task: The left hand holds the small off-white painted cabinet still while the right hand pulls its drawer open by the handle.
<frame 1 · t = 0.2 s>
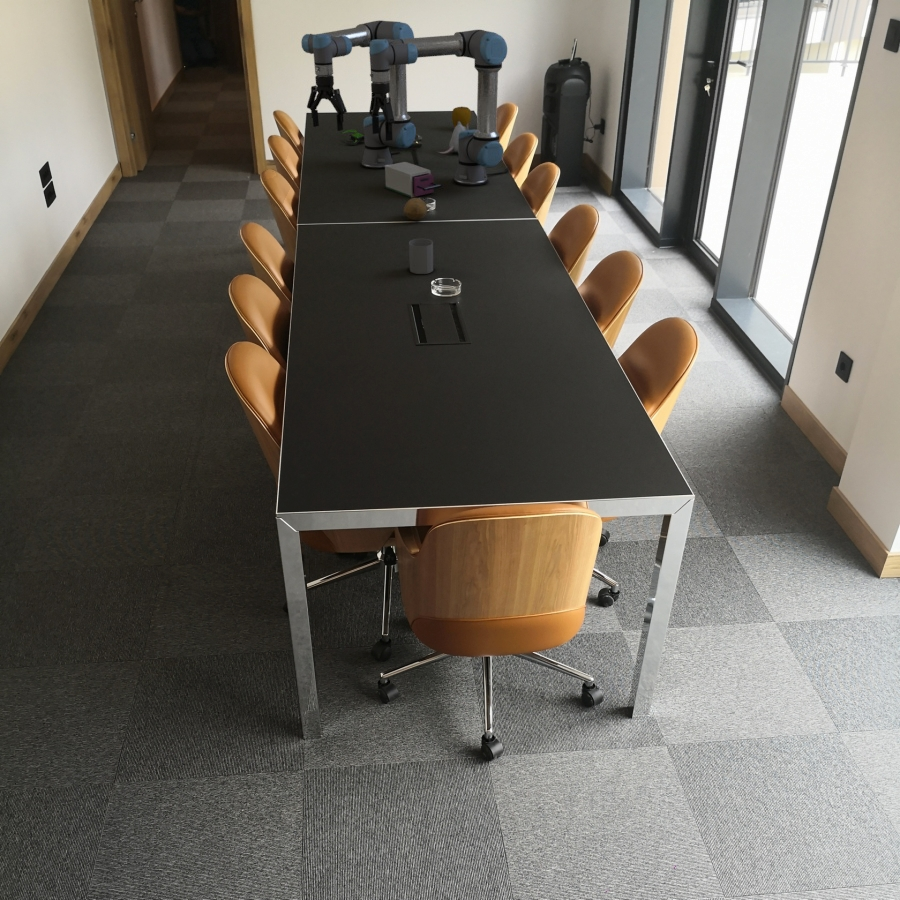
left hand: (328, 128, 373), 28 cm above the table, tool pointing down, fingers open, 13 cm apart
right hand: (382, 136, 360), 28 cm above the table, tool pointing down, fingers open, 13 cm apart
potato: (415, 219, 356), on the table
apple: (461, 130, 491), on the table
drawer: (416, 182, 384), point 5 cm above the table, slide at 1.5 cm
cabinet: (408, 190, 391), on the table
green irregular shape: (368, 143, 466), on the table
toy: (453, 155, 444), on the table
cup: (421, 270, 308), on the table
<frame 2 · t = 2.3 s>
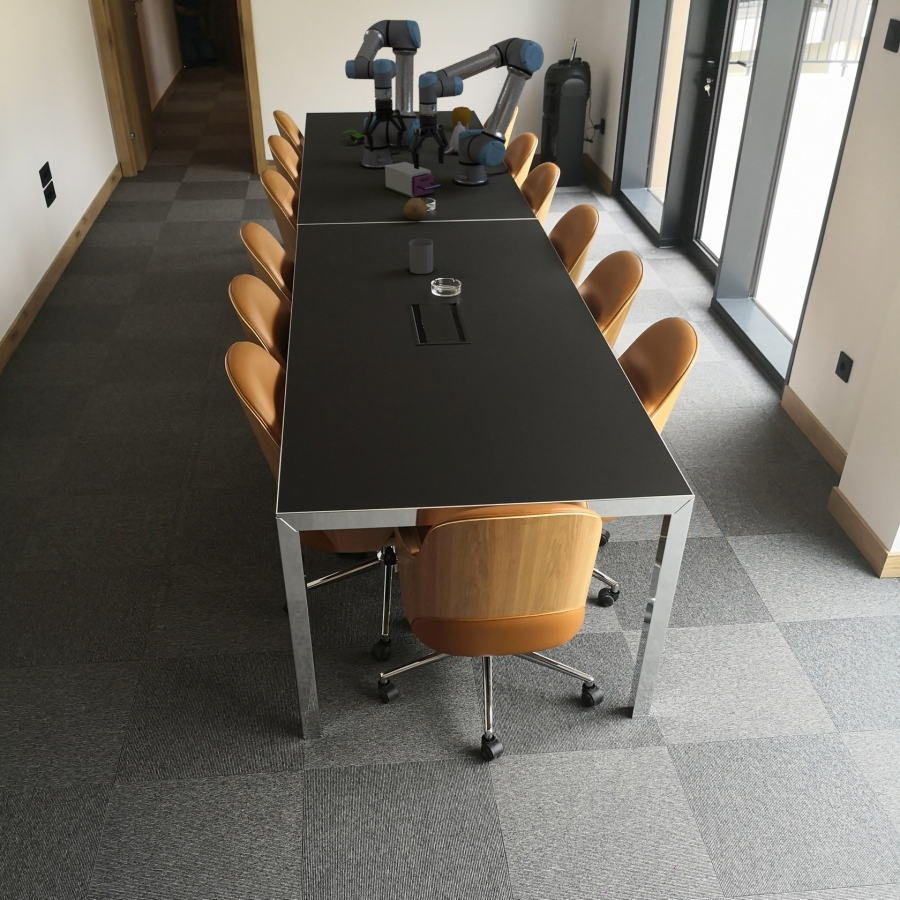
left hand: (385, 149, 384), 17 cm above the table, tool pointing down, fingers open, 13 cm apart
right hand: (428, 166, 374), 14 cm above the table, tool pointing down, fingers open, 13 cm apart
nothing on the table moved.
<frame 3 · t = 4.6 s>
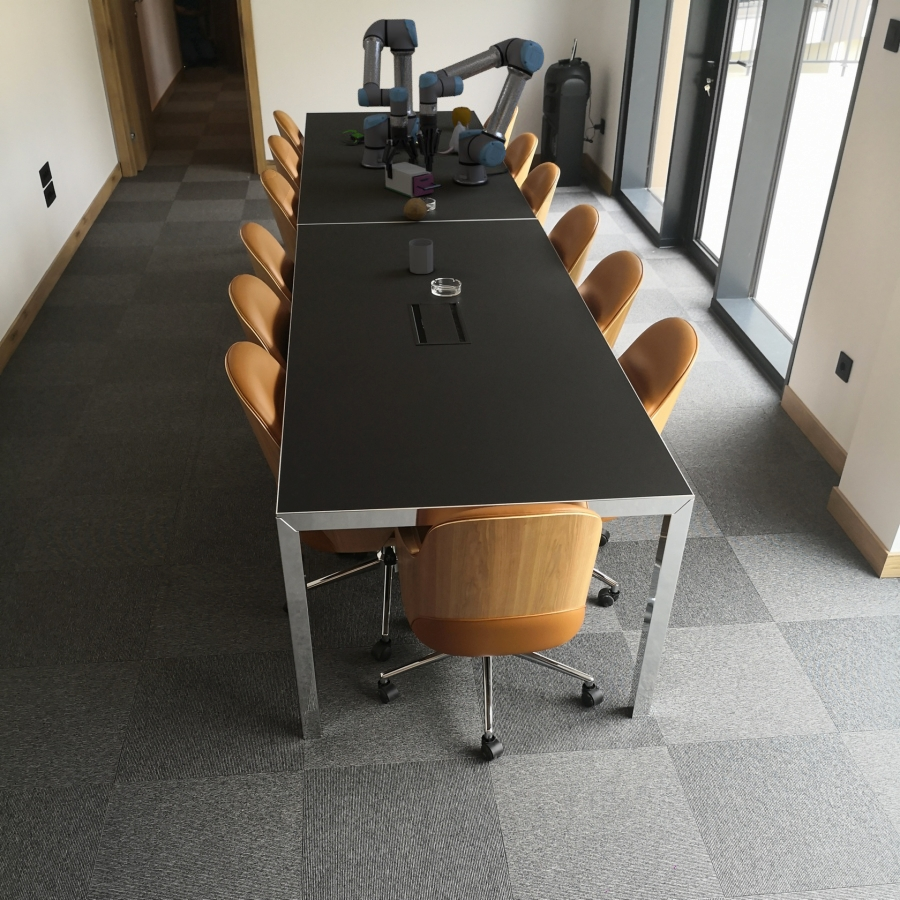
left hand: (400, 176, 392), 5 cm above the table, tool pointing down, fingers closed on cabinet, 11 cm apart
right hand: (429, 171, 375), 12 cm above the table, tool pointing down, fingers closed
cabinet: (408, 190, 391), on the table, touching left hand
everything else where it was.
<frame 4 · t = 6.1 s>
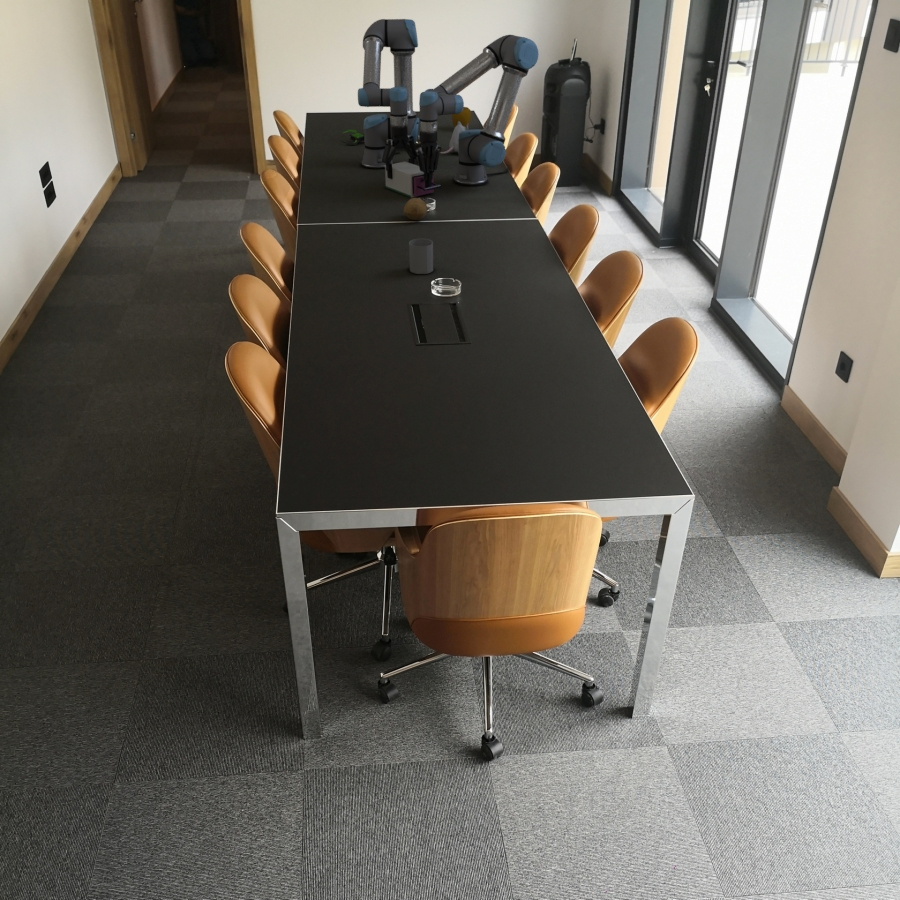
left hand: (400, 175, 392), 5 cm above the table, tool pointing down, fingers closed on cabinet, 11 cm apart
right hand: (428, 187, 378), 5 cm above the table, tool pointing down, fingers closed
cabinet: (408, 190, 391), on the table, touching left hand
everything else where it was.
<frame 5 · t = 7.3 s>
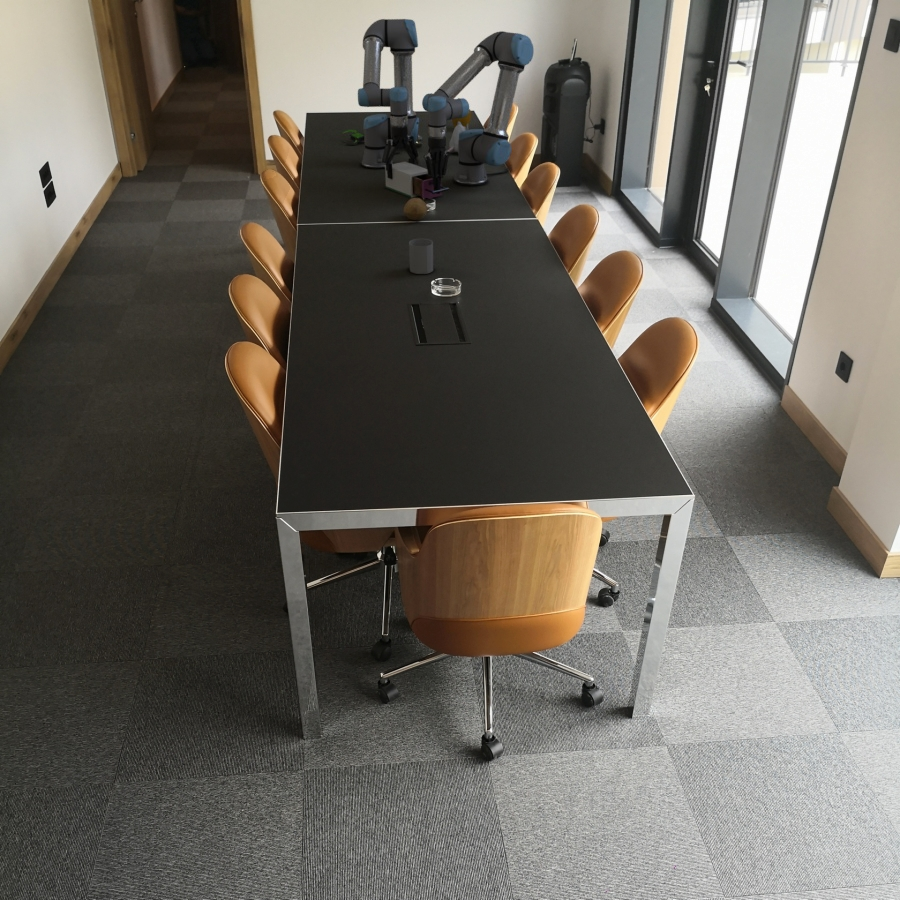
left hand: (400, 176, 392), 5 cm above the table, tool pointing down, fingers closed on cabinet, 11 cm apart
right hand: (437, 192, 375), 4 cm above the table, tool pointing down, fingers closed
drawer: (424, 185, 381), point 5 cm above the table, slide at 7.3 cm, touching right hand
cabinet: (408, 190, 391), on the table, touching left hand
everything else where it was.
when the left hand's fingers open (5 cm above the table, at t = 9.0 s): cabinet stays where it is, on the table.
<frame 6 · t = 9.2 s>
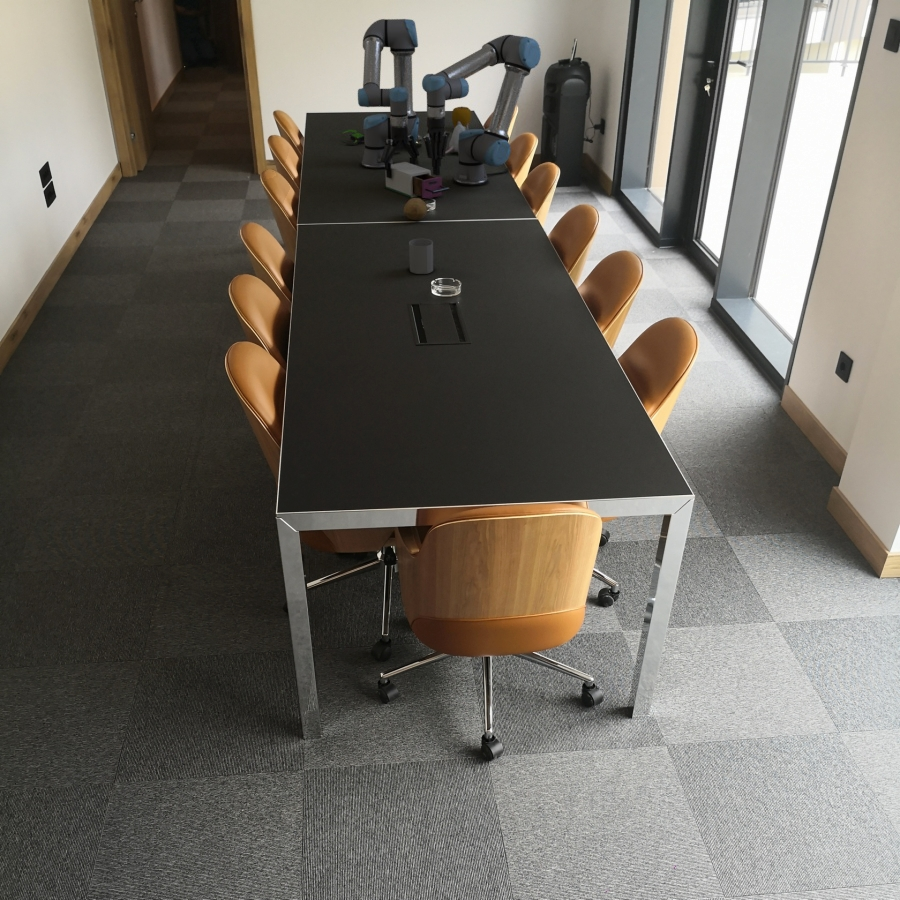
left hand: (400, 175, 392), 6 cm above the table, tool pointing down, fingers open, 12 cm apart
right hand: (436, 174, 372), 11 cm above the table, tool pointing down, fingers closed
drawer: (424, 185, 381), point 5 cm above the table, slide at 7.3 cm
cabinet: (408, 190, 391), on the table
everything else where it was.
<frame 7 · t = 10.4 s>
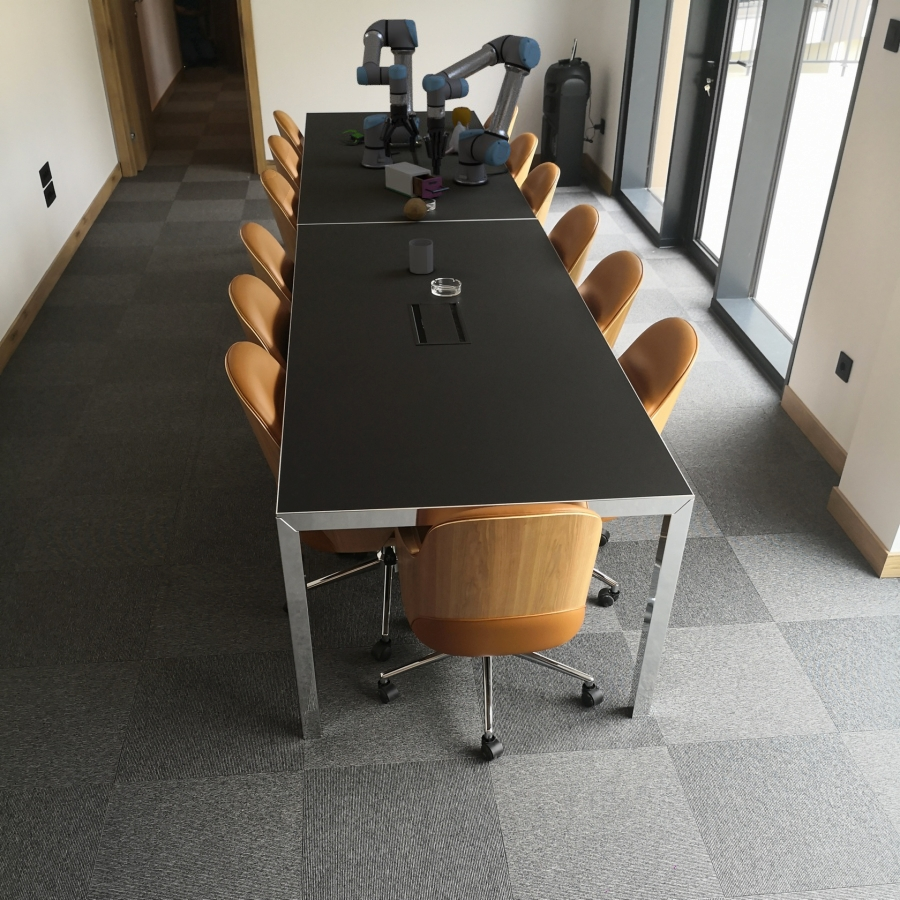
left hand: (400, 154, 387), 15 cm above the table, tool pointing down, fingers open, 13 cm apart
right hand: (436, 174, 372), 11 cm above the table, tool pointing down, fingers closed
nothing on the table moved.
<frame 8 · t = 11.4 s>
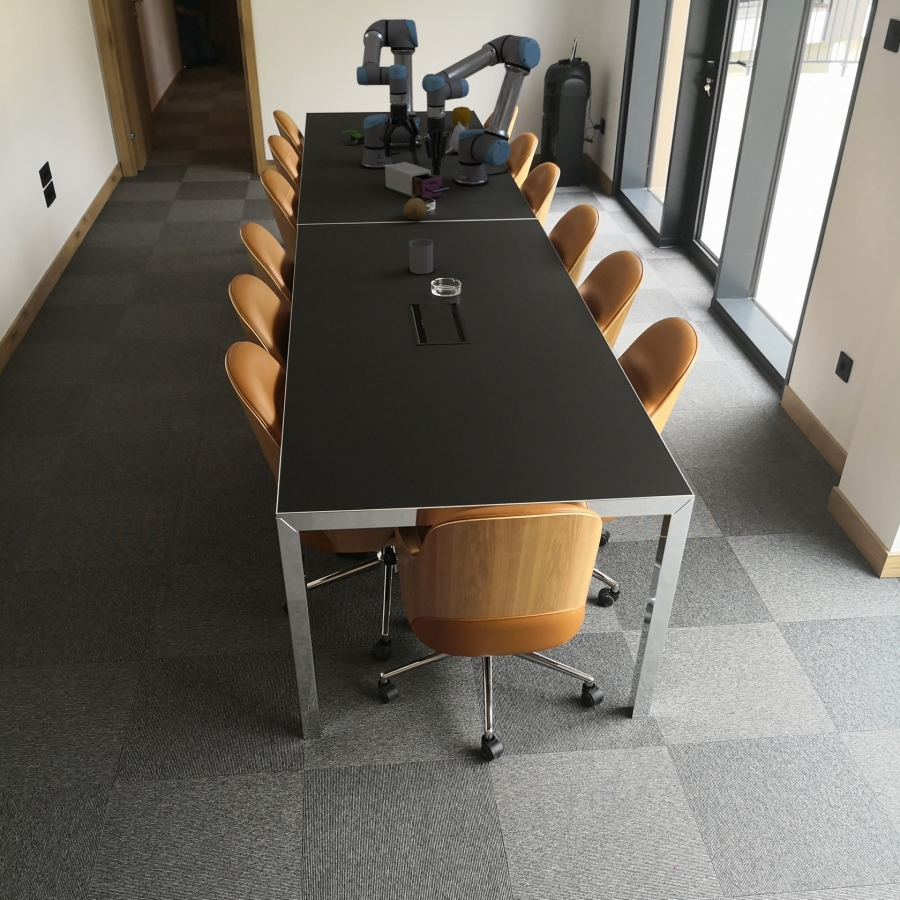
left hand: (400, 154, 387), 15 cm above the table, tool pointing down, fingers open, 13 cm apart
right hand: (436, 174, 372), 11 cm above the table, tool pointing down, fingers closed
nothing on the table moved.
at the end: drawer slide at 7.3 cm; cabinet tilted 0°; cabinet never tilted more than 1° during the clip; cabinet moved 0.0 cm from its start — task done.
